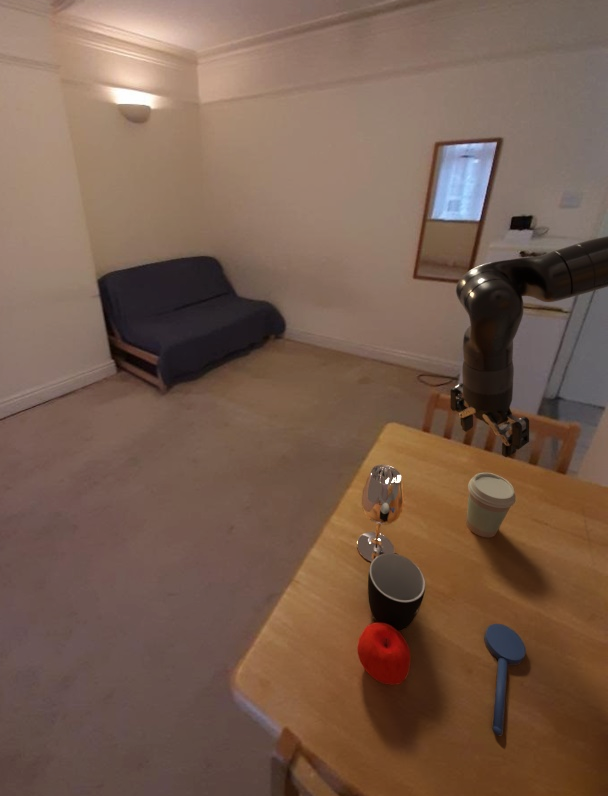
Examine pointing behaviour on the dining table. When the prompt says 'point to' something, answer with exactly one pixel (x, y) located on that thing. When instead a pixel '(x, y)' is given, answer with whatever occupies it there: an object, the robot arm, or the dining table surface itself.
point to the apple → (384, 653)
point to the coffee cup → (488, 503)
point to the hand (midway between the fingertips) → (486, 440)
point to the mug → (395, 590)
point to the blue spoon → (503, 664)
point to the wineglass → (380, 509)
